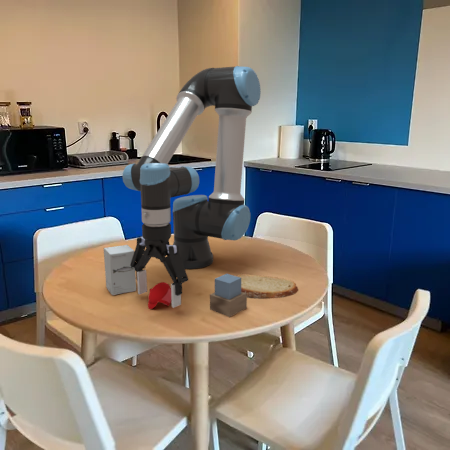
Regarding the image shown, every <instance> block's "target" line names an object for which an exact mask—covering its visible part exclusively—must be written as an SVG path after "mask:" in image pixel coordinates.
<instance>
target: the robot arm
mask: <svg viewBox="0 0 450 450" xmlns="http://www.w3.org/2000/svg"><path fill="white" fill-rule="evenodd" d="M175 99H176V103H175V104H174V106H172V108H171V110H170V112H169V114H168V115H167V117H166V118H165V120H164V121H163V123H162V124H161V126H160V128H159V129H158V131H157V132H156V134H155V135H154V137H153V138H152V140H151V141H150V143H149V145H148V146H147V148H146V149H145V150H144V153H142V156H141V158H139V160H138V162H137V163H130V164H128V165H126V166H125V167H124V169H123V172H122V182H123V183H124V185H125V187H126V188H128V189H130V190H133V191H138V192H140V203H141V204H140V205H141V222H142V223H143V224H142V225H141V234H142V236H139V237H137V238H136V246H135V248H134V255H133V258H132V261H131V264H130V266H131V267H134V268H135V276H136V284H137V294H138V295H142V294H145V293H147V292H148V281H147V280H148V279H147V269H146V266H147V264H148V263H149V262H150V260H151V259H152V258H155V259H157V260H159V261H160V263H162V264H163V266H164V268H165V270H166V271H167V273H168V276H169V277H170V279H171V281H172V283H171V284H170V288H171V299H172V301H171V308H173V309H174V308H176V307H178V306H181V305H182V294H183V284H184V283H186V282H188V281H189V278H188V277H189V276H188V274H187V271H186V269H187V270H188V269H189V270H190V269H192V270H193V269H195V270H196V269H200V268H201V269H202V268H205V267H208V266H210V265H212V264H213V262H214V254H213V252H212V249H211V245H210V243H209V239H208V238H209V237H210V238H215V239H220V240H224V241H227V240H228V241H238V240H240V239H242V237H244V235H245V234H246V233H247V231H248V228H249V225H250V222H251V212H250V208H249V206H247V205H246V204H245V198H244V197H243V195H242V194H241V189H242V175H243V163H244V152H245V151H244V150H245V139H246V138H245V137H246V125H247V118H248V117H249V116H250V115H251V114H252V109H253V107H255V106H256V105H258V103H259V101H260V99H261V84H260V80H259V77H258V74H257V73H256V72H255V70H254V69H253V68H251V67H249V66H239V65H236V66H226V67H209V68H205V69H202V70H200V71H198V72H197V73H196V74H194V75H193V76H192V77H191V78H189V80H188V81H187V82H186V83H185V84H184V85H183V86H182V88H181V89H180V90H179V91H178V93H177V95H176V98H175ZM213 106H214V111H215V113H216V114H217V115H218V129H217V139H216V141H217V142H216V154H215V155H216V156H215V167H214V168H215V169H214V170H215V171H214V172H215V173H214V183H213V184H214V185H213V186H214V187H213V192H212V193H211V194H210V195H209V196H207V195H205V194H193V195H189V194H190V193H193V192H195V191H196V190H197V189H198V188H199V184H200V176H199V174H198V172H197V170H196V169H194V167H192V166H181V167H173V166H169V162H170V161H171V159H172V157H173V156H174V154H175V152H176V151H177V149H178V148H179V146H180V145H181V143H182V141H183V139H184V137H185V136H186V135H187V133H188V131H189V130H190V128H191V126H192V125H193V123H194V122H195V120H196V118H197V116H199V115H202V114H203V113H204V111H205V109H206V108H209V107H213ZM184 195H186V196H184ZM187 195H188V196H187ZM179 196H181V197H179ZM175 197H178V198H175ZM172 198H175V199H174V200H173V202H172V203H173V204H172V211H171V199H172ZM171 222H172V223H173V224H171ZM172 225H173V243H172V244H170V239H171V237H172Z"/></svg>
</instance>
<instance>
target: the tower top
mask: <svg viewBox="0 0 450 450" xmlns="http://www.w3.org/2000/svg"><path fill="white" fill-rule="evenodd" d="M214 292H215V295H217V296H220V297H223V298H226V299H229V300H230V299H232V298H234V297H236V296H238V295H240V294H241V278H240V277H237V275H232V274H229V273H225V274H222V275H221V276H218V277H215V278H214Z"/></svg>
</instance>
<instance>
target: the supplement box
mask: <svg viewBox="0 0 450 450" xmlns="http://www.w3.org/2000/svg"><path fill="white" fill-rule="evenodd" d="M134 252H135V249H133V248H132V247H130V246H129V245H128V244H124V245H118V246H117V245H115V246H109V247H104V248H103V258H104V259H103V260H104V261H103V262H104V271H105V273H104V276H105V286H106V287H105V288H106V289H107V290H108V292H109V294H110V295H111V296H115V295H119V294H126V293H133V292H136V291H137V279H136V271H135V268H134V267H131V266H130V264H131V261H132V258H133V255H134Z"/></svg>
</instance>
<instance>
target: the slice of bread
mask: <svg viewBox="0 0 450 450" xmlns="http://www.w3.org/2000/svg"><path fill="white" fill-rule="evenodd" d="M236 276H237V277H240V278H241V292H244V293H247V299H278V298H279V299H280V298H287V297H289V296H293V295H295V294H296V293H298V292H299V288H298V286H297V284H296V282H295V281H293V280H291V279H287V278H281V277H278V276H277V277H276V276H267V275H256V274H248V273H246V274H243V273H240V274H237V275H236Z"/></svg>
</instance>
